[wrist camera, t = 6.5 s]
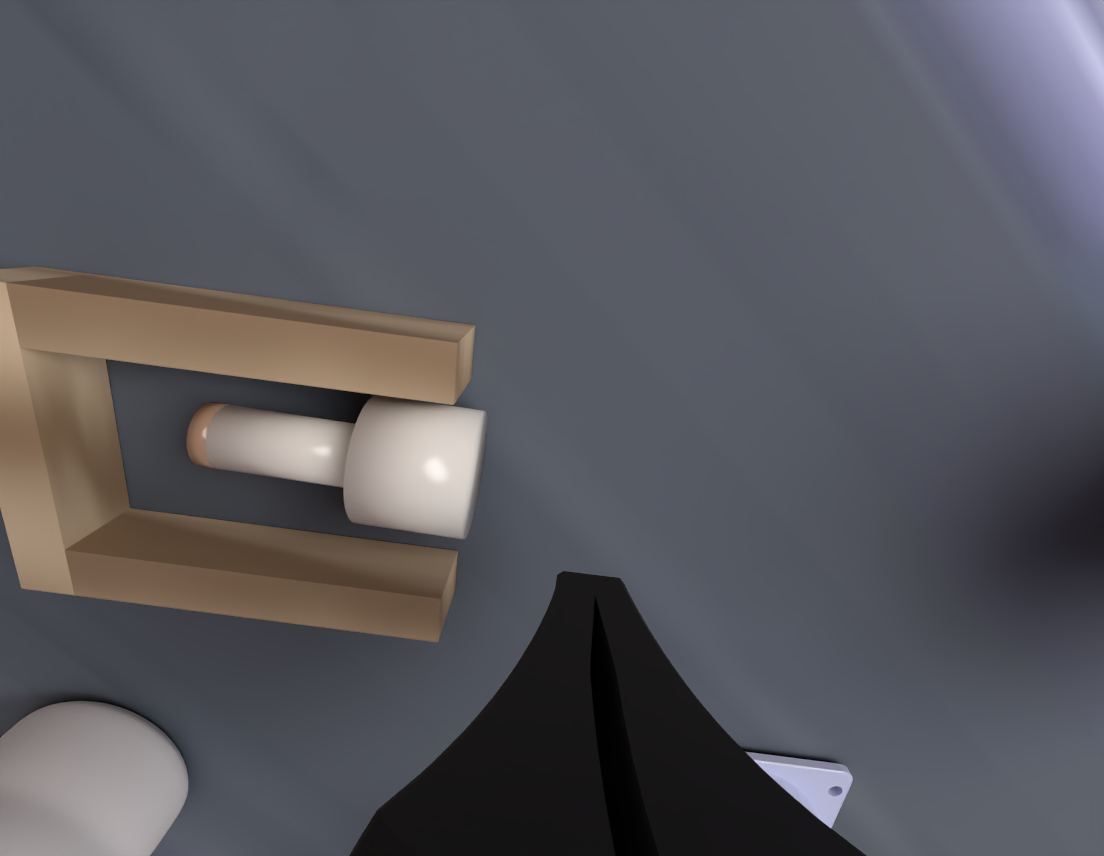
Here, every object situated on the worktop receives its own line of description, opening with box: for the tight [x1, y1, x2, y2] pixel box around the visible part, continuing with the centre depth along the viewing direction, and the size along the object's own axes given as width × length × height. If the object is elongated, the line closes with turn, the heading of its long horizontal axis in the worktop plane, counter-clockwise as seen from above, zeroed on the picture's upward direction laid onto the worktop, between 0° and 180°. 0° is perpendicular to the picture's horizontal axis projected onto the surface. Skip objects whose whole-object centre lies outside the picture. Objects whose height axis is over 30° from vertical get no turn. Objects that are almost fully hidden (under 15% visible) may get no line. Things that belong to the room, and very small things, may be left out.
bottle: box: [187, 395, 487, 539], centre depth 15 cm, size 4×4×8 cm
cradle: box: [0, 266, 475, 642], centre depth 16 cm, size 9×13×2 cm
